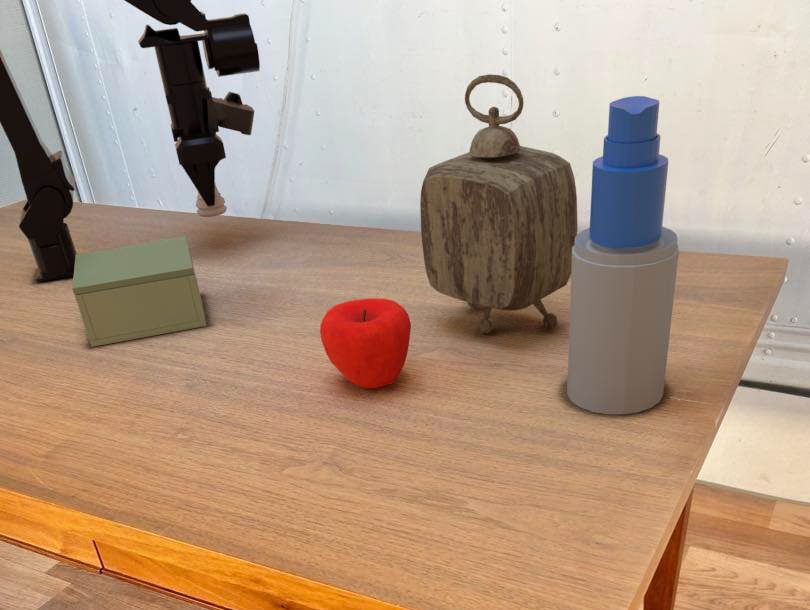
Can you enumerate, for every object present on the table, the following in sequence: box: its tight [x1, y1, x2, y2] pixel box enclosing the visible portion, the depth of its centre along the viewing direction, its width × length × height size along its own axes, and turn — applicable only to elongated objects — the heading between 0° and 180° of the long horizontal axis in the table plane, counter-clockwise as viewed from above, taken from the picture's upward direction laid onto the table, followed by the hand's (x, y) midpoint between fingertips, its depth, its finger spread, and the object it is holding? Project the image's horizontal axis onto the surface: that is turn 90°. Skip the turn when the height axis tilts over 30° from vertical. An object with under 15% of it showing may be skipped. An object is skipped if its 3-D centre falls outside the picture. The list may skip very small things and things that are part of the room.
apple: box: [319, 298, 412, 389], centre depth 84 cm, size 9×9×8 cm
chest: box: [74, 249, 207, 348], centre depth 103 cm, size 11×14×6 cm
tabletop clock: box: [419, 74, 579, 335], centre depth 87 cm, size 14×9×25 cm, turn 47°
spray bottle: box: [566, 95, 680, 416], centre depth 73 cm, size 9×9×25 cm
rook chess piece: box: [195, 183, 228, 218], centre depth 122 cm, size 4×4×8 cm
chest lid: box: [71, 235, 195, 296], centre depth 101 cm, size 11×14×1 cm
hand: (209, 201), depth 123 cm, fingers closed on rook chess piece, 4 cm apart
